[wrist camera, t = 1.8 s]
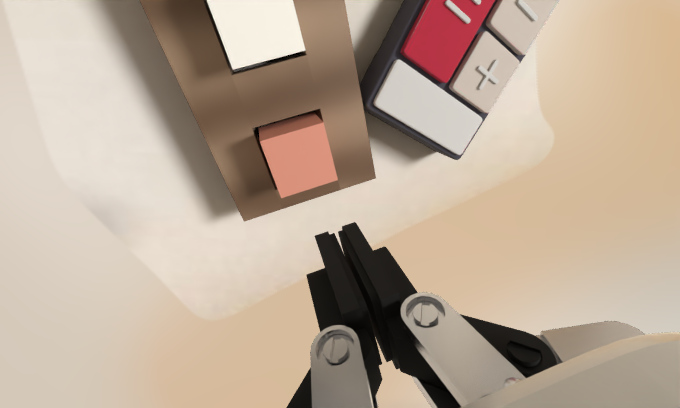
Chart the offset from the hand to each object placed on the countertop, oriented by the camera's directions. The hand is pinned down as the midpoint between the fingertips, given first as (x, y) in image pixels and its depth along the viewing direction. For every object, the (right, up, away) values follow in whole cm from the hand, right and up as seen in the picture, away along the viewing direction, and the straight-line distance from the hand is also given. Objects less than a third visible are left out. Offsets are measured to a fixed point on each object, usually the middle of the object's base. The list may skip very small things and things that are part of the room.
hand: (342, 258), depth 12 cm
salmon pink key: (-4, +7, +13) cm, 15 cm away
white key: (-6, +15, +8) cm, 18 cm away
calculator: (+9, +16, +15) cm, 23 cm away
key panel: (-5, +11, +12) cm, 17 cm away
